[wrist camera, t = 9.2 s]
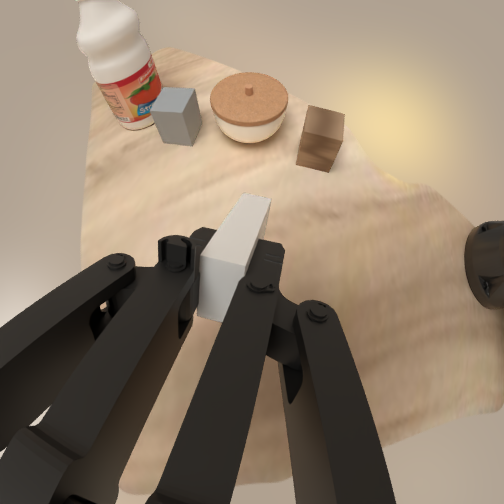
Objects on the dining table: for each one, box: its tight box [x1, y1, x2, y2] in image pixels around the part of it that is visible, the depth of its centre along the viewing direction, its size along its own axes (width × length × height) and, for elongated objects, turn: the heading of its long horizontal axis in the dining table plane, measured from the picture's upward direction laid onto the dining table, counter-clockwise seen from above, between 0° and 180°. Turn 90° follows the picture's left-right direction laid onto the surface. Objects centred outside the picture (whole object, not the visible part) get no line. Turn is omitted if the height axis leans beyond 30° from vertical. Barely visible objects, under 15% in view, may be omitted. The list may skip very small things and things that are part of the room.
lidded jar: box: [210, 72, 288, 143], centre depth 38 cm, size 11×11×9 cm
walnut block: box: [296, 105, 345, 173], centre depth 37 cm, size 5×5×8 cm
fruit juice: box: [75, 0, 163, 130], centre depth 30 cm, size 9×9×28 cm
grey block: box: [150, 87, 202, 146], centre depth 38 cm, size 5×5×8 cm
